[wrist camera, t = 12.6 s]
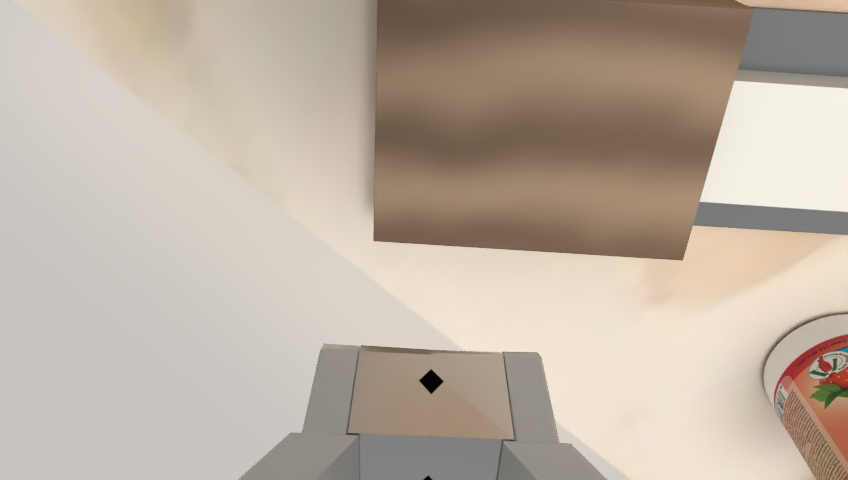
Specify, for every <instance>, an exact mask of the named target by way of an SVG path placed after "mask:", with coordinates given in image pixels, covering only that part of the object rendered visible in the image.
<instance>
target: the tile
mask: <svg viewBox="0 0 848 480" xmlns="http://www.w3.org/2000/svg"><path fill="white" fill-rule="evenodd" d="M700 202H711V203H725V204H739V205H754V206H768V207H783V208H797V209H812V210H826V211H840V212H848V77H840V76H826V75H812V74H797V73H783V72H768V71H754V70H740V69H738V70H737V73H736V77H735V80H734V83H733V87H732V90H731V94H730V97H729V101H728V104H727V108H726V111H725V115H724V118H723V122H722V125H721V129H720V132H719V136H718V139H717V143H716V146H715V150H714V153H713V157H712V160H711V164H710V167H709V170H708V174H707V177H706V181H705V184H704V188H703V191H702V195H701V198H700Z"/></svg>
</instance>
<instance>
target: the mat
mask: <svg viewBox="0 0 848 480" xmlns="http://www.w3.org/2000/svg"><path fill="white" fill-rule="evenodd" d="M750 8H752V9H754V14H753V17H752V21H751V24H750V28H749V31H748V35H747V38H746V42H745V45H744V49H743V52H742V56H741V59H740V63H739V66H738V69H740V70H754V71H768V72H783V73H797V74H812V75H826V76H840V77H848V13H837V12H821V11H805V10H789V9H772V8H756V7H750ZM693 225H696V226H712V227H728V228H744V229H760V230H776V231H792V232H808V233H824V234H841V235H848V212H840V211H826V210H812V209H797V208H783V207H768V206H754V205H739V204H725V203H711V202H699V205H698V209H697V212H696V216H695V219H694V223H693Z"/></svg>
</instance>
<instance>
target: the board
mask: <svg viewBox="0 0 848 480" xmlns="http://www.w3.org/2000/svg"><path fill="white" fill-rule="evenodd" d="M753 14H754V9H752V8H750V7H748V6H746V5H743V4H741V3H739V2H737V1H735V0H378V21H377V76H376V132H375V187H374V241H381V242H397V243H413V244H429V245H445V246H461V247H477V248H493V249H509V250H525V251H541V252H557V253H573V254H589V255H605V256H621V257H637V258H653V259H669V260H683V257H684V254H685V251H686V247H687V244H688V240H689V237H690V233H691V230H692V226H693V223H694V219H695V216H696V212H697V209H698V205H699V202H700V198H701V195H702V191H703V188H704V184H705V181H706V177H707V174H708V170H709V167H710V164H711V160H712V157H713V153H714V150H715V146H716V143H717V139H718V136H719V132H720V129H721V125H722V122H723V118H724V115H725V111H726V108H727V104H728V101H729V97H730V94H731V90H732V87H733V83H734V80H735V77H736V73H737V70H738V66H739V63H740V59H741V56H742V52H743V49H744V45H745V42H746V38H747V35H748V31H749V28H750V24H751V21H752V17H753Z"/></svg>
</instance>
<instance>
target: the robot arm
mask: <svg viewBox="0 0 848 480" xmlns="http://www.w3.org/2000/svg"><path fill="white" fill-rule="evenodd" d="M238 480H607V479H606V478H605V477H604V476H603V475H602V474H601V473H600V472H599V471H598V470H597V469H596V468H595V467H594V466H593V465H592V464H591V463H590V462H589V461H588V460H587V459H586V458H585V457H584V456H583V455H582V454H581V453H580V452H579V451H578V450H577V449H576V448H574V446H573V445H572V444H565V443H564V444H563V443H559V438H558V433H557V429H556V424H555V419H554V415H553V410H552V405H551V400H550V396H549V391H548V386H547V382H546V377H545V372H544V367H543V363H542V358H541V356H540V355H539V354H538V353H536V352H502V353H500V352H474V351H446V350H424V349H408V348H394V347H393V348H392V347H378V346H363V345H361V347H360V346H353V345H336V344H324V345H323V347H322V349H321V351H320V354H319V358H318V363H317V367H316V372H315V377H314V381H313V385H312V390H311V395H310V399H309V403H308V408H307V412H306V417H305V422H304V426H303V431H302V433H290V434H289V435H287V436H286V437H285V438H284V439H283V440H282V441H281V442H280V443H279V444H277V445H276V446H275V447H274V448H273V449H272V450H271V451H270V452H269V453H268V454H266V455H265V456H264V457H263V458H262V459H261V460H260V461H258V462H257V463H256V464H255V465H254V466H253V467H252V468H251V469H250V470H248V471H247V472H246V473H245V474H244V475H243V476H242V477H241V478H239V479H238Z"/></svg>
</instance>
